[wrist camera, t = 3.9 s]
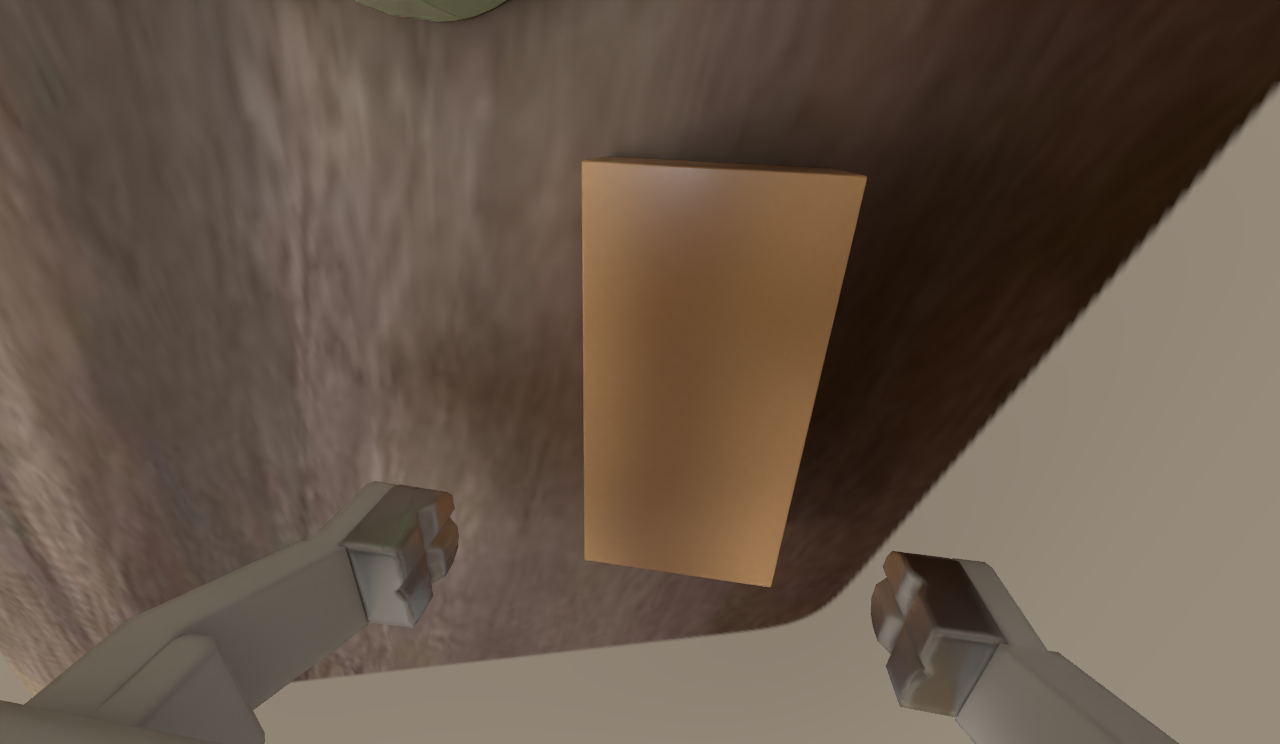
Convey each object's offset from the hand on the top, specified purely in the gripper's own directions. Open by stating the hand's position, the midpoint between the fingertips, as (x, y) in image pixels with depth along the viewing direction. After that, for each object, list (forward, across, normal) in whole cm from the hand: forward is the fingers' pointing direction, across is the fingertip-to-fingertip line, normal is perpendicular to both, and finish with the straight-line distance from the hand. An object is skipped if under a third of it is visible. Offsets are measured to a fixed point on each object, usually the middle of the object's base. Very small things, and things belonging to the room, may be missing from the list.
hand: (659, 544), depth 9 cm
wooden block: (+8, 0, 0) cm, 8 cm away
